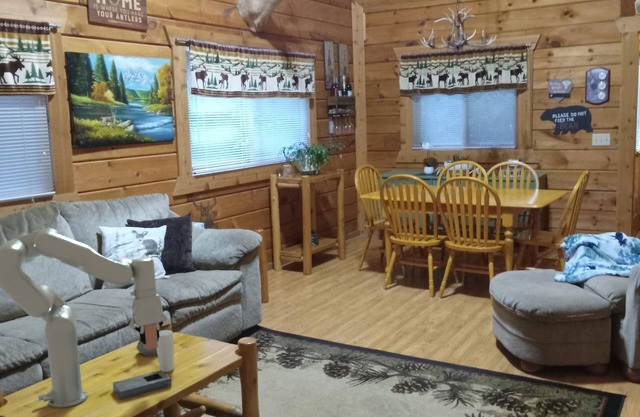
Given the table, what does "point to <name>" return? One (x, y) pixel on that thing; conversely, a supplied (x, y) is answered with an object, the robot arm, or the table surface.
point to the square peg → (150, 336)
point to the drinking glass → (166, 350)
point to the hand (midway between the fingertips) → (150, 341)
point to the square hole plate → (141, 384)
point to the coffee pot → (150, 351)
